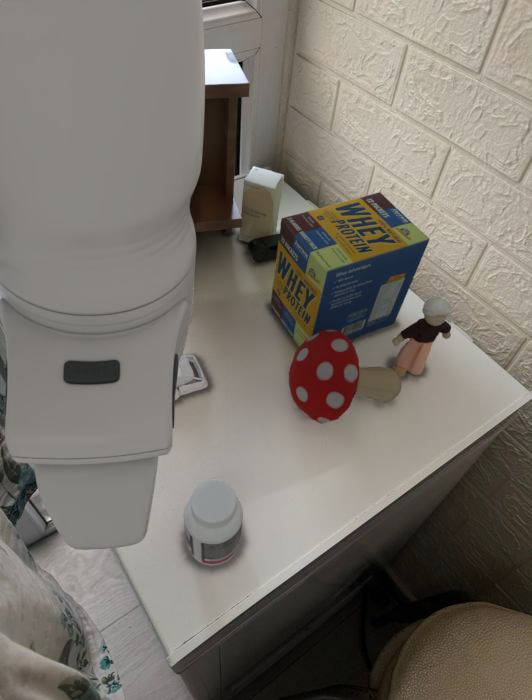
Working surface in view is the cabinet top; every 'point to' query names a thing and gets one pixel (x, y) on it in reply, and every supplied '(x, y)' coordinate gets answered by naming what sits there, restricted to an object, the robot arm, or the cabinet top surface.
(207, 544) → the pill bottle
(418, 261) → the protein box
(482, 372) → the cabinet top surface
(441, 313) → the grandmother figurine
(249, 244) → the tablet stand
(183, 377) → the toy car
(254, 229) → the box
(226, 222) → the shelf
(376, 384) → the decorative mushroom
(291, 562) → the cabinet top surface
